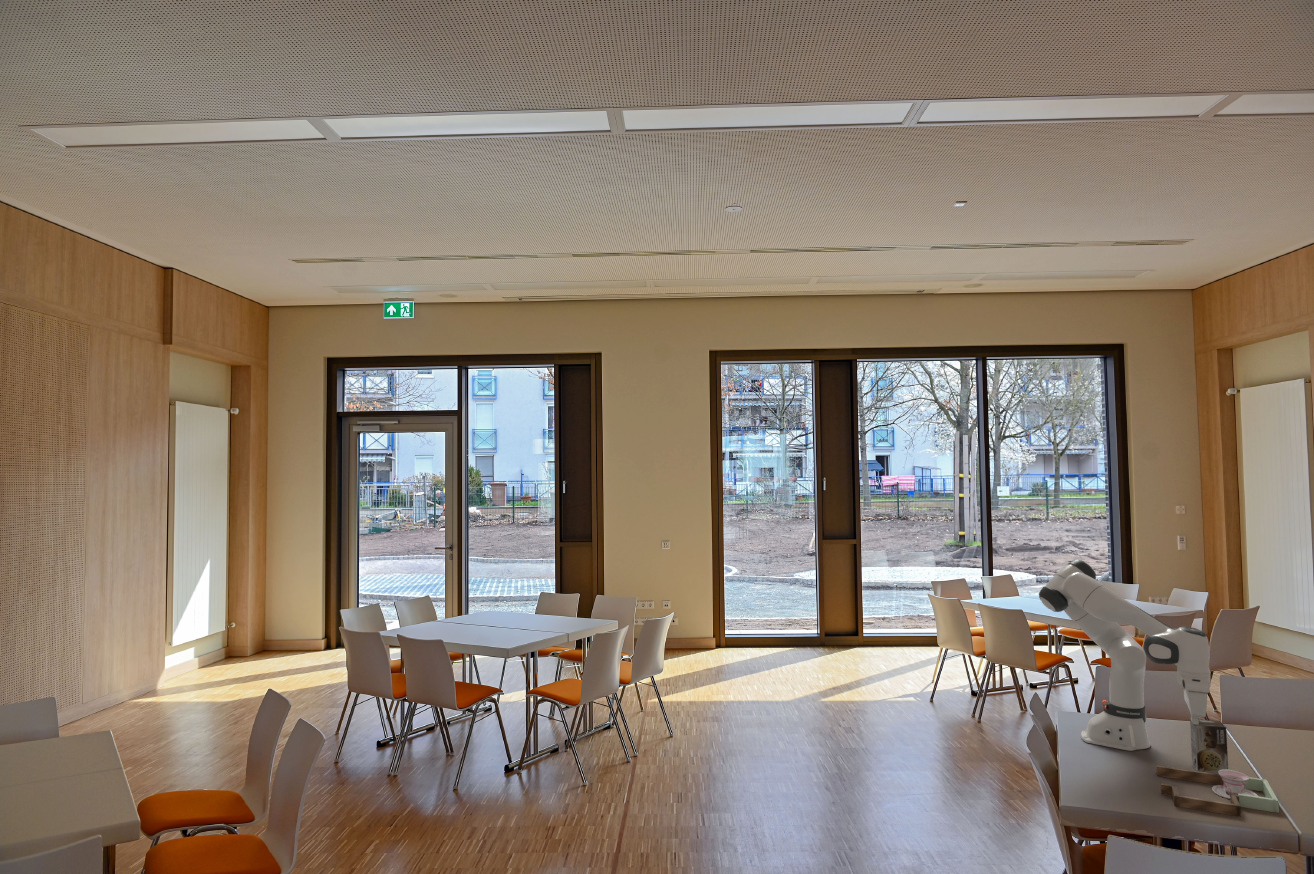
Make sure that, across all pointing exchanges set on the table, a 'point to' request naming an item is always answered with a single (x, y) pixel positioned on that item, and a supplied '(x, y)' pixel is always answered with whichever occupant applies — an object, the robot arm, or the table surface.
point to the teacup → (1232, 784)
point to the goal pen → (1259, 802)
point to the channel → (1197, 803)
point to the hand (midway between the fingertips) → (1194, 722)
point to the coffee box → (1209, 746)
